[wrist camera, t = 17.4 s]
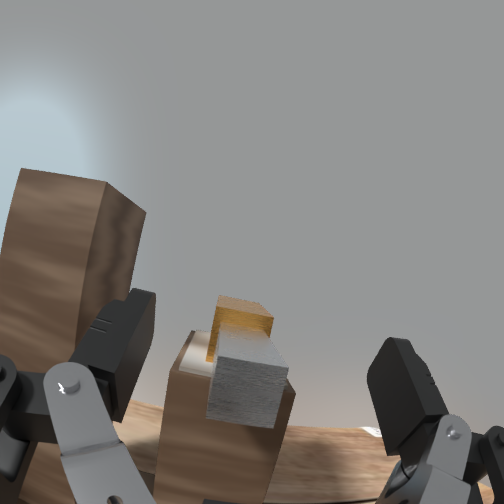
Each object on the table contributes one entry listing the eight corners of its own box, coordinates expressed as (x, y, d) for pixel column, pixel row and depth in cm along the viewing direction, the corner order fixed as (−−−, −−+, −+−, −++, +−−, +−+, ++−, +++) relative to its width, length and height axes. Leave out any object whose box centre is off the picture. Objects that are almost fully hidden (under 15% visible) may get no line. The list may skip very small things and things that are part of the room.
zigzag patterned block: (234, 576, 18) (332, 226, 20) (6, 505, 16) (14, 164, 18) (229, 497, 32) (288, 244, 34) (57, 450, 30) (83, 201, 32)
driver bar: (284, 429, 13) (305, 347, 13) (194, 415, 13) (210, 329, 13) (250, 341, 32) (258, 303, 32) (211, 334, 31) (219, 295, 32)
